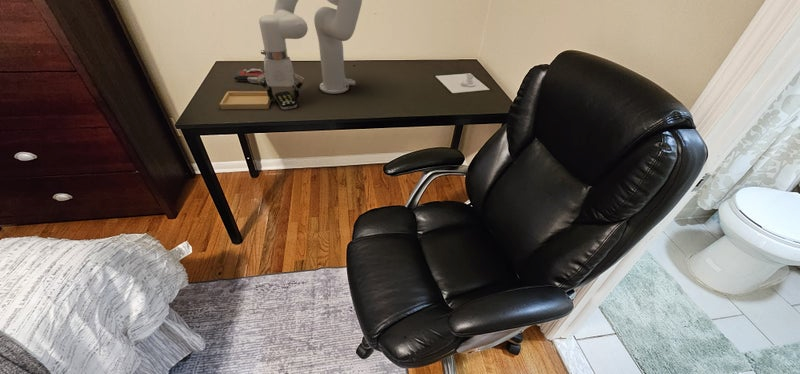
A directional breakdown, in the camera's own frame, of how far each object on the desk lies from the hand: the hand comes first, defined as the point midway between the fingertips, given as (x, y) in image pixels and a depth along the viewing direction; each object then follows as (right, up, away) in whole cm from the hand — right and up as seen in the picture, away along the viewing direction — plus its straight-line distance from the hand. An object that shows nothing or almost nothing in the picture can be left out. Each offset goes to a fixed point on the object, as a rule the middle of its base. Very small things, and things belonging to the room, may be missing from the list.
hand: (284, 98), depth 124 cm
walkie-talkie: (-17, +12, +15) cm, 26 cm away
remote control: (0, -1, +1) cm, 2 cm away
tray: (-14, -2, -1) cm, 14 cm away
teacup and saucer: (+76, +15, +28) cm, 83 cm away
